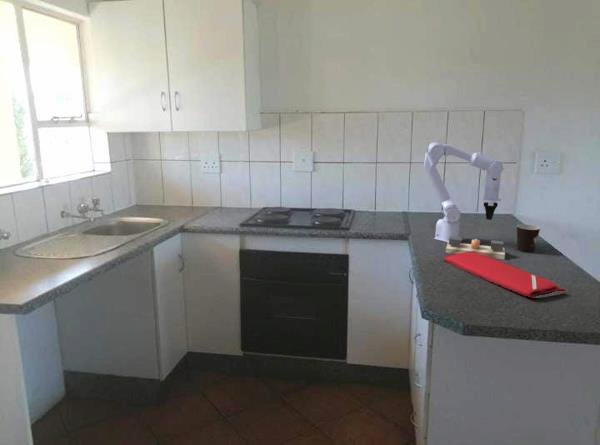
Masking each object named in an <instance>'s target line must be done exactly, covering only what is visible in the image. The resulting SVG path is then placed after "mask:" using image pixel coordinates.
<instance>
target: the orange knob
mask: <svg viewBox="0 0 600 445" xmlns="http://www.w3.org/2000/svg"><path fill="white" fill-rule="evenodd" d="M470 244H471V248H472V249H479V247H480V245H481V240H480V239H477V238H475V239H471V242H470Z"/></svg>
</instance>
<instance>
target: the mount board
mask: <svg viewBox="0 0 600 445" xmlns="http://www.w3.org/2000/svg"><path fill="white" fill-rule="evenodd" d="M446 243H447V244H446V247H445V254H450V255H454V254H459V253H468V252H472V253H478V254H482V255H485V256H487V257H490V258H492V259H495V260H505V259H506V258H505V257H506V251H505V247H503V250H497V249H491V245H490V246H489V245H483V244H482V245H481V244H480V247H479V249H472V248H471V243H462V242H461V244H460V246H459V245H449V242H446Z"/></svg>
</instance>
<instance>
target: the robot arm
mask: <svg viewBox="0 0 600 445" xmlns="http://www.w3.org/2000/svg"><path fill="white" fill-rule="evenodd" d="M424 156H425V157H424V161H423V169H424V170H425V173H426V174H427V177H428V179H429V180H430V182H431V184H432V186H433V188H434V191H435V193H436V195H437V197H438V200H439V201H440V203H441V206H442V208H443V209H442V210H443V215H444V217H443V218H440V219H438V220H437V222H436V225H435V234H434V236H435V237H434V238H433V240H438V241H441V242H446V243H448V242H449V238H450V236H454V237H460V235H459V234H460V221H461V220H460V219H461V216H462V215H461V214H462V213H461V211H460V210H459V208H458V206H457V205H456V204H454V202H453V200H452V198H451V196H450V194H449V191H448V190H447V187H446V185H445V184H444V181H443V179H442V177H441V175H440V173H439V170H438V169H437V165H438V163H439V161H440V159H442V157H443V156H444V157H447V156H448V157H449V156H454V157H456V158H460V159H463V160H465V161H468V162H469V165H470V166H472V167H475V168H477V169H479V170H482V171H486V177H485V186H484V193H483V194H484V195H483V198H482V199H483V201H485V202H483V207H484V211H485V218H486V220H490V221H492V219H493V217H494V215H495V214H494V213H495V210H496V209H497V207H498V202H502V198H500V197H499V196H500V188H501V178H502V177H501V176H502V173H503V170H504V165H503V163H502V162H501V161H499V160H497V159H495V158H494V157H492V156H490V157H489V156H486V155H484V154H483V153H482V152H481V151H479V152H474V153H470V152H467V151H465V150H462V149H460V148H457V147H455V146H453V145H450V144H446V143H440V142H439V141H433V142H431V143H429V145H428V147H426V150H425V155H424ZM462 241H463V239H462V238H461V242H462Z"/></svg>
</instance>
